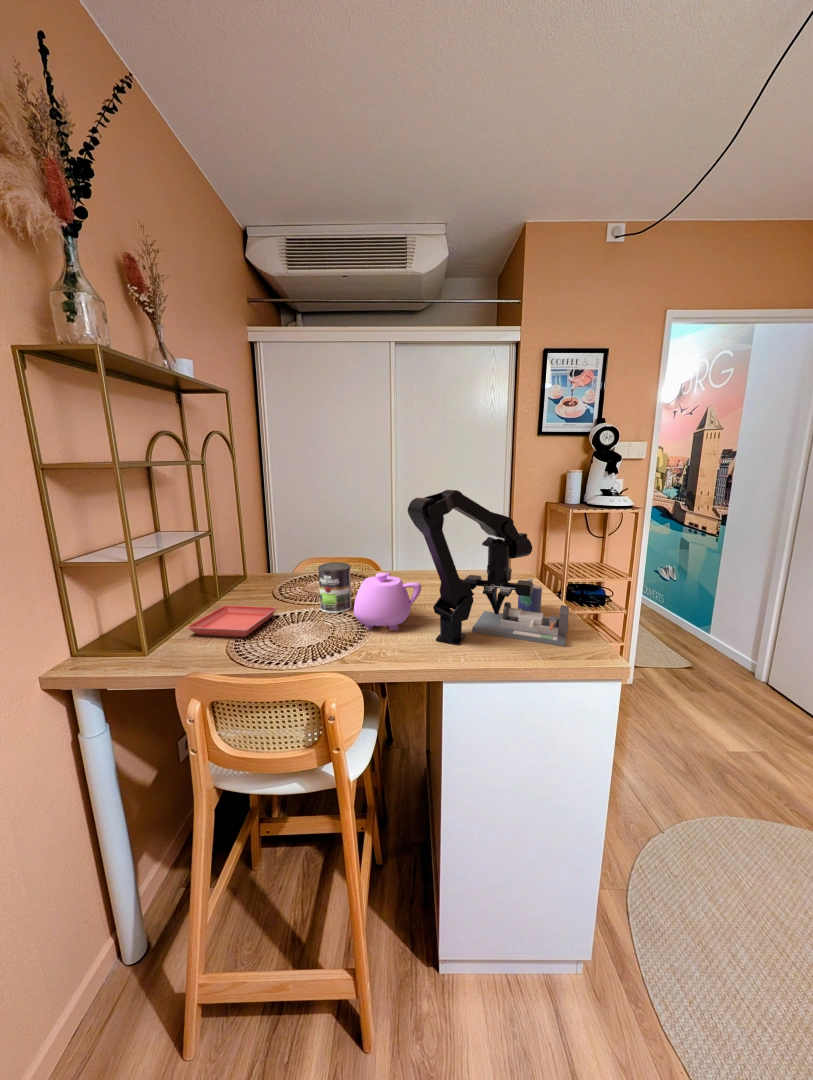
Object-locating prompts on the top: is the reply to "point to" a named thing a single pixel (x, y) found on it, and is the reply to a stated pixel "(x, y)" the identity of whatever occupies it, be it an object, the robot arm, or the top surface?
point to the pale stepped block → (522, 615)
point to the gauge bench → (524, 628)
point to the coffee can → (335, 587)
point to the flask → (531, 600)
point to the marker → (553, 622)
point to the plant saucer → (232, 621)
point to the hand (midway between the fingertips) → (496, 613)
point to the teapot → (384, 601)
